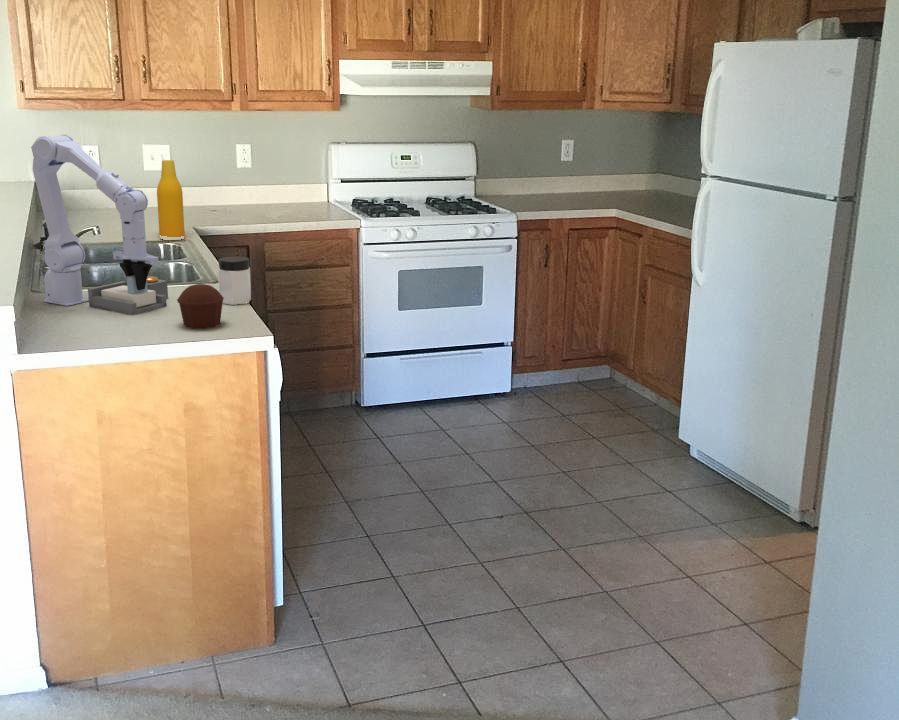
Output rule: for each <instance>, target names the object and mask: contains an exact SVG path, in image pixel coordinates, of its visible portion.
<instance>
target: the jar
mask: <svg viewBox="0 0 899 720" xmlns="http://www.w3.org/2000/svg"><path fill="white" fill-rule="evenodd" d="M251 288H252V285H251V267H250V258H248V257H246V256H236V255H234V256H233V255H232V256H222V257H220V258H219V259H218V289H219V290H218V291H219V293H220V294H221V295H222V296H223V298H224V299H223V303H222V305H231V306H238V304H239V305H248V304H249V303H250V302H251V300H252V289H251ZM246 302H247V303H248V304H247V303H246Z"/></svg>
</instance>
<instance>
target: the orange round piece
mask: <svg viewBox="0 0 899 720" xmlns="http://www.w3.org/2000/svg"><path fill="white" fill-rule="evenodd" d="M158 278H159V277H157V276H151V275H148V277H147V283H153V282H157V281H158Z"/></svg>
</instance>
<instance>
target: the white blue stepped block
mask: <svg viewBox="0 0 899 720" xmlns="http://www.w3.org/2000/svg"><path fill="white" fill-rule="evenodd" d="M126 282H127V286H124V285H123V286H118V287H114V288H109V289H105V290H101V294H102V297H107V298H112V299H118V300H123V301H129V302H134V303H136V307H141V306H145V305H149V304H153V303H156V292H155V291H153V290H148V288H147V280H146V285H145V289H143V290H137V287H136V279H135V275H132V276H127V277H126Z"/></svg>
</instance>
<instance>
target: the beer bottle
mask: <svg viewBox="0 0 899 720" xmlns="http://www.w3.org/2000/svg"><path fill="white" fill-rule="evenodd" d="M160 173H161V175H160V179H159V182H158V184H157V187H156V197H157V198H156V201H157V215H158V216H157V217H158V234H159V235H161V236H167V237H181V236H185V237H186V232H185V219H184V215H185V214H184V202H183V201H184V198H183V195H184V194H183V188H182V186H181V184H180V181H179V179H178V176H177V172H176V167H175V161H174V160H173V159H164V160H163V159H162V160H161V172H160ZM159 235H158V236H159Z"/></svg>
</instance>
